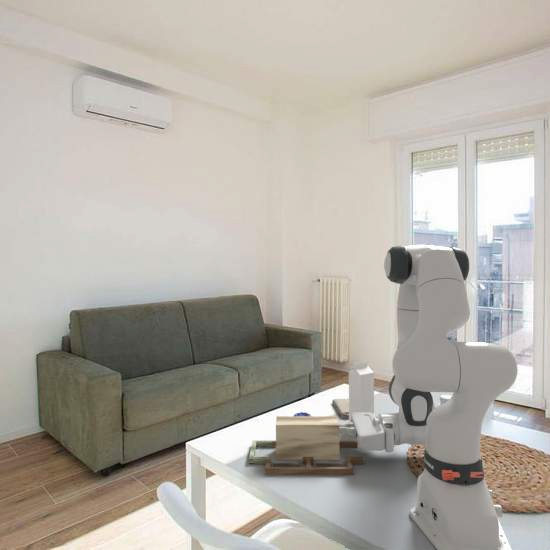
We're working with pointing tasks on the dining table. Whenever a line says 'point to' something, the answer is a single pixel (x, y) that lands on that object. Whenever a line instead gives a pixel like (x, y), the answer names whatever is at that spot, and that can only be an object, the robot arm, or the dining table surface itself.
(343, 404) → the washcloth
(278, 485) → the dining table surface
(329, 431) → the beige rectangular block
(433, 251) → the robot arm
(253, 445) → the frame
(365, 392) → the milk
